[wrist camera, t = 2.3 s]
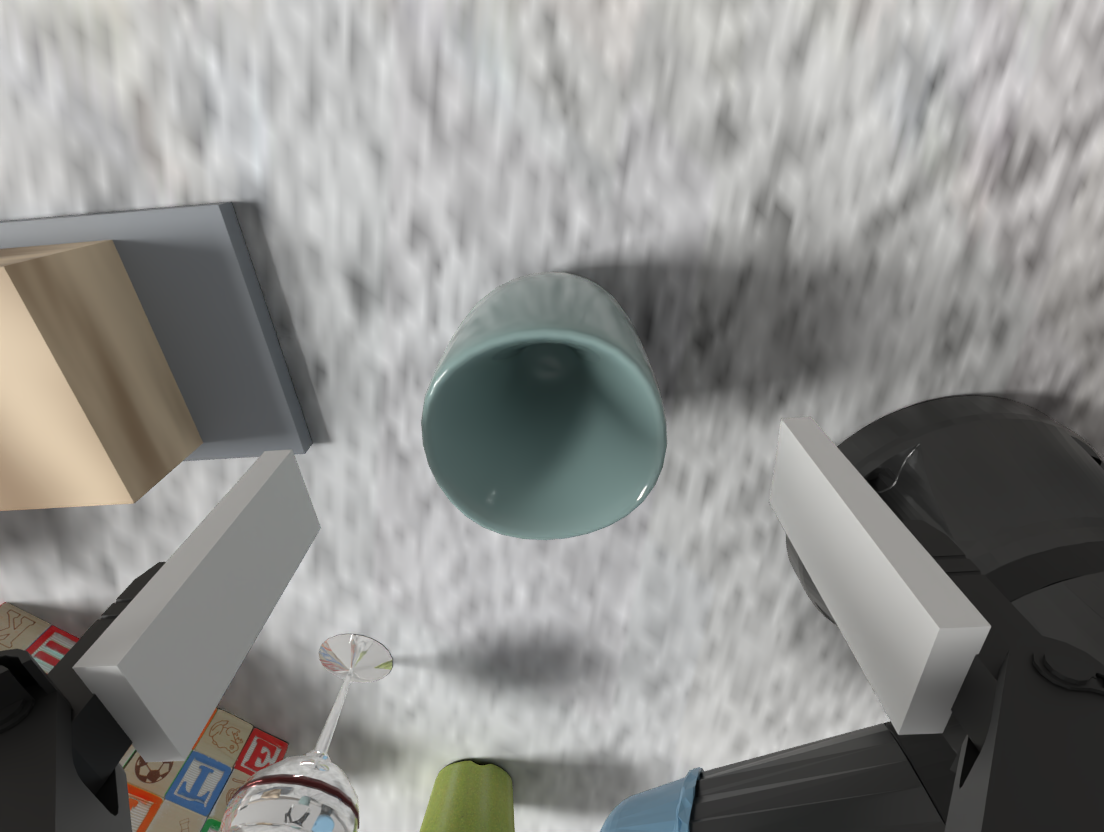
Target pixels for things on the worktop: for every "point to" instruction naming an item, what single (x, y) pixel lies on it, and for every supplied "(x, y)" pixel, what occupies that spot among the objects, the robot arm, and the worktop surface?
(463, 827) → the plant pot
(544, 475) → the cup
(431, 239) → the worktop surface
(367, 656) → the wineglass
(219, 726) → the stack of blocks
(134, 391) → the oak riser
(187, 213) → the base board
